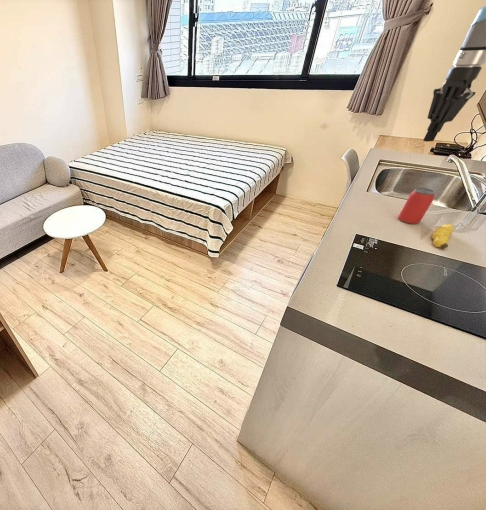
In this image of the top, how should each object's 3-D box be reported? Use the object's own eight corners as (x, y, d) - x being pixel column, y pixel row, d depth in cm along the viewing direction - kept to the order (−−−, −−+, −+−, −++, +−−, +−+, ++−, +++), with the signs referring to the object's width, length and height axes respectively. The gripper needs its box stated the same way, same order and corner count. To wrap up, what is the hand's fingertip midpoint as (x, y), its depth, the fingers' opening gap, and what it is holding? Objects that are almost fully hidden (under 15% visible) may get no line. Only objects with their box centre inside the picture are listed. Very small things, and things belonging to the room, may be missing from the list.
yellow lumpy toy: (435, 226, 100) (444, 219, 97) (450, 234, 98) (459, 226, 95) (425, 243, 92) (434, 236, 90) (441, 252, 90) (451, 244, 87)
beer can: (402, 224, 103) (419, 194, 96) (394, 215, 109) (409, 186, 102) (423, 225, 102) (441, 194, 95) (413, 216, 107) (430, 187, 100)
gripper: (437, 66, 96) (404, 137, 110) (475, 67, 86) (433, 146, 100) (459, 64, 96) (423, 136, 110) (499, 65, 86) (454, 144, 100)
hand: (428, 140), depth 105 cm, fingers closed
